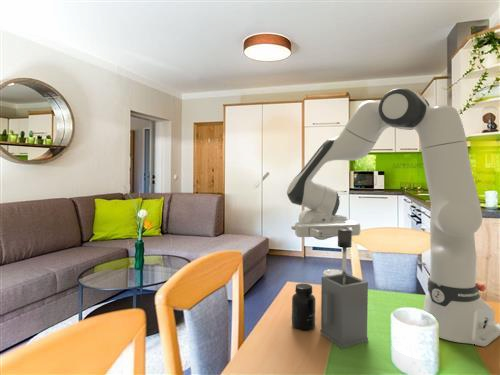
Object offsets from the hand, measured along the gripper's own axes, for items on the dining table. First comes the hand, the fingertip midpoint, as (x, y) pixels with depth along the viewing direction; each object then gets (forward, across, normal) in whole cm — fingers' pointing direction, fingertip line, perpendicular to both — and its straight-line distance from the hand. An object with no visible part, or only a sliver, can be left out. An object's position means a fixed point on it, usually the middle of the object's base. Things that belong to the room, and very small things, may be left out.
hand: (335, 233), depth 96 cm
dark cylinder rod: (+7, 0, +15) cm, 16 cm away
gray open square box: (+7, 0, +27) cm, 28 cm away
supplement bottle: (0, -10, +27) cm, 29 cm away
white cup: (-17, +6, +27) cm, 33 cm away
